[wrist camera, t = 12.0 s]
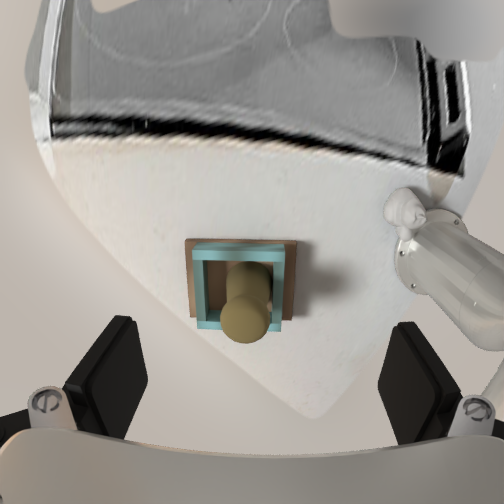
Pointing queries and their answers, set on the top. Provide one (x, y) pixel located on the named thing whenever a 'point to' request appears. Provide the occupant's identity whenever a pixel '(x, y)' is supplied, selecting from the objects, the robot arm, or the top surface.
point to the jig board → (220, 263)
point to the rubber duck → (404, 212)
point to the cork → (247, 302)
